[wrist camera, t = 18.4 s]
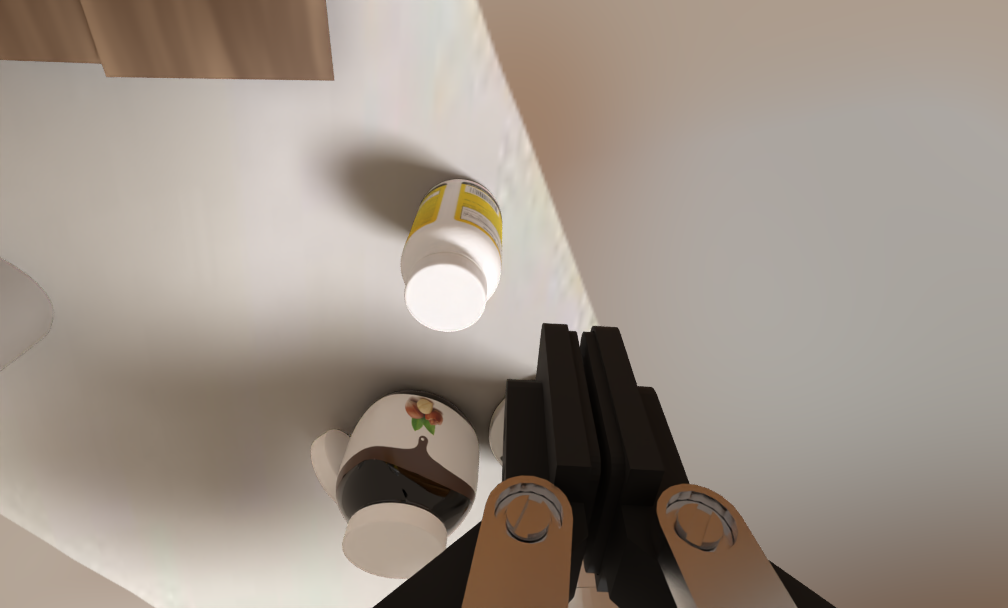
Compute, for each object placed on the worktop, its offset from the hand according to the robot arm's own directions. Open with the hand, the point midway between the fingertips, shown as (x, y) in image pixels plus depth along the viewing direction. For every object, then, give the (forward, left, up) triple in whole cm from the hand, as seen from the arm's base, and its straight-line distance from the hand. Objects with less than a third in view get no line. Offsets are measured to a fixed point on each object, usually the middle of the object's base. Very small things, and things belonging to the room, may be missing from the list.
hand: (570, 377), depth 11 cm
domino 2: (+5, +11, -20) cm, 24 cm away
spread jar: (-26, +9, -22) cm, 35 cm away
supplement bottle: (-6, +4, -22) cm, 23 cm away
